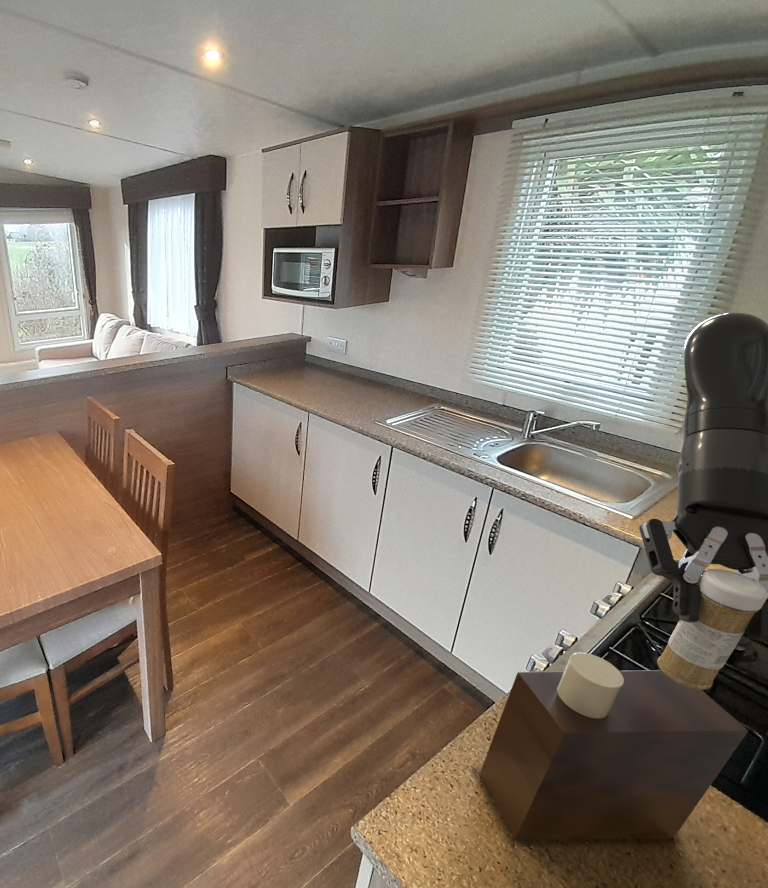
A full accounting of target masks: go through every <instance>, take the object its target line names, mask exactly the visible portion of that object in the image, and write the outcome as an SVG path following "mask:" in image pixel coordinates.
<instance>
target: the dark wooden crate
mask: <svg viewBox="0 0 768 888" xmlns="http://www.w3.org/2000/svg"><path fill="white" fill-rule="evenodd" d="M619 671H620V673H621V674H622V676H623V678H624V684H623V686H622V688H621V690H620V692H619V694H618V696H617V698H616V700H615V702H614V704H613V706H612V708H611V710H610V712H609V714H608V715H607V716H606V717H604V718H600V719H596V718H590V717H587V716H584V715H582V714H580V713H578V712H576V711H574V710H573V709H571V708H570V707H568V706H567V705H566V704H565V703H564V702H563V701H562V700H561V698H560V697H559V695H558V693H557V686H558V684H559V682H560V679H561V677H562V675H563V672H564V671H518V672H517V673H516V676H515V677H514V681H513V683H512V686H511V689H510V692H509V694H508V697H507V699H506V702H505V705H504V708H503V710H502V713H501V716H500V718H499V720H498V724H497V726H496V729H495V730H494V731H495V732H494V734H493V737H492V740H491V742H490V744H489V748H488V750H487V753H486V756H485V759H484V761H483V764H482V766H481V769H480V771H479V774H478V775H479V777H480V779H481V781H482V783H483V785H484V786H485V788H486V790H487V791H488V793H489V795H490V797H491V798H492V801H493V802H494V804H495V806H496V808H497V809H498V811H499V813H500V815H501V817H502V819H503V820H504V822H505V824H506V826H507V827H508V830H509V831H510V833H511V835H512V836H513V839H514V840H516V841H517V840H521V841H523V840H524V841H525V840H528V841H529V840H629V839H630V840H632V839H637V840H638V839H639V840H640V839H641V840H642V839H674V838H675V837H676V836H677V834H678V832H679V831H680V830H681V828H682V827H683V825H684V824H685V823H686V821H687V819H688V818H689V817H690V816H691V814H692V812H693V811H694V810H695V808H696V807H697V805H698V804H699V802H700V801H701V799H702V798H703V797H704V795H705V794H706V793H707V791H708V790H709V788H710V787H711V785H712V784H713V783H714V781H715V779H716V778H717V777H718V776H719V774H720V773H721V771H722V770H723V768H724V767H725V765H726V764H727V763H728V761H729V760H730V759H731V757H732V755H733V754H734V753H735V751H736V750H737V748H738V747H739V745H740V744H741V742H742V741H743V740H744V738H745V737H746V736H747V734H748V732H749V730H748V729H747V728H746V727H745V726H743V724H742V723H740V722H739V721H737V719H736V718H734V717H733V716H732V715H731V714H730V713H729V712H728V711H726V709H724V708H723V707H722V706H721V705H720V704H718V703H717V702H716V701H715V700H714V699H713V698H712V697H710V695H708V694H707V693H706V692H705V691H704V690H698V689H693V688H689V687H687V686H684V685H682V684H679V683H677V682H676V681H674V680H672V679H671V678H670V677H668V676H667V675H666V674H665V673H663V672H662V670H661V669H657V670H653V669H652V670H650V669H648V670H646V669H645V670H619Z"/></svg>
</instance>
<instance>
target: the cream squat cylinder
mask: <svg viewBox="0 0 768 888" xmlns="http://www.w3.org/2000/svg"><path fill="white" fill-rule="evenodd" d="M620 671H621V670H619V668H617V667H616V666H614V665H613V664H612V663H610V662H609V661H608V660H606V659H604V658H602V657H600V656H597V655H595V654H591V653H587V652H575V653H573V654H571V655H570V656H569V659H568V661H567V663H566V665H565V667H564V670H563V671H562V672H563V675H562V677H561V679H560V682H559V684H558V686H557V693H558V695H559V697H560V698H561V700H562V701H563V702H564V703H565V704H566V705H567V706H568V707H570V708H571V709H573V710H574V711H576V712H578V713H580V714H582V715H584V716H587V717H590V718H596V719H600V718H604V717H606V716H607V715H608V714H609V712H610V710H611V708H612V706H613V704H614V702H615V700H616V698H617V696H618V694H619V692H620V690H621V688H622V686H623V684H624V678H623V676H622V674H621V673H620Z"/></svg>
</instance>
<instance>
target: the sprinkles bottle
mask: <svg viewBox="0 0 768 888" xmlns="http://www.w3.org/2000/svg"><path fill="white" fill-rule="evenodd" d="M697 586H700V608H699V620H698V621H697V622H692V623H689V622H685V621H681V620H680V619H679V621H678V622H677V623H676V626H675V628H674V629H673V631H672V633H671V635H670V637H669V638H668V643H667V645H666V646H665V648H664V649H663V652H662V654H661V655H659V657H658V658H657V661H656V662H657V663H656V664H657V666H658V668H659V670H662V672H663V673H665V674H666V675H667V676H668V677H670V678H671V679H672V680H674V681H676V682H677V683H679V684H682V685H684V686H687V687H689V688H693V689H698V690H702V691H704V690H708V689H711V688H712V686H713V684H714V680H715V679H716V677H717V675H718V673H719V672H720V670H721V669H722V668H723V667H724V666H725V665H726V663H727V661H728V659H729V658H730V656H731V655H732V654H733V652H734V650H735V649H736V647H737V645H738V643H739V642H740V640H741V638H742V637H743V635H744V634H745V632H746V630H747V625H748V624H749V622H750V620H751V618H752V617H753V615H754V614H755V613H756V612H757V611H758V610H759V609H761V608H762V606H763V604H764V603H765V601H766V599H767V597H768V592H767V590H766V589H765V588H764V587H763V586H762V585H761V584H759V583H758V582H756V581H754V580H752V579H751V578H748V577H746V576H744V575H741V574H738V573H736V571H731V570H728V569H723V568H709V569H706V570H704V572H703V574H702V575H701V577H700V579H699V581H698V582H697Z"/></svg>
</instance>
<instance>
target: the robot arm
mask: <svg viewBox="0 0 768 888" xmlns="http://www.w3.org/2000/svg"><path fill="white" fill-rule="evenodd" d="M683 359H684V360H683V362H684V364H683V365H684V377H685V378H684V379H685V387H686V398H687V399H686V408H685V413H684V421H683V422H684V425H683V426H684V427H683V441H682V446H681V451H680V453H679V454H680V455H679V461H678V465H677V470H676V471H677V474H678V477H677V478H678V481H677V497H676V499H677V500H676V516H675V517H674V519H673V520H672V521H662V520H661V519H659V518H651V519H649V520H647V521H644V522H643V523H641V524H640V525H639V527H638V528H639V533H640V536H641V540H642V543H643V546H644V550H645V554H646V557H647V561H648V564H649V567H650V571H651V573H652V574H654V575H655V576H658V577H659V576H661V577H662V578H664V579H666V580H669V581H670V582H671V583H672V585H673V592H672V594H673V596H672V597H673V598H672V610H673V613H674V614H675V615H678V619H679V621H680V620H681V621H685V622H689V623H692V622H697V621H698V620H699V608H700V586H698V585H697V584H698V582H699V580H700V578H701V576H702V575H703V573H704V572H705V571H706V570H705V569H707V568H708V567H709V566H710V565H720V566H722V567H725V568H727V569H730V570H734V572H735V573H738V574H741V575H744V576H746V577H748V578H751V579H752V580H754V581H756V582H758V583H759V584H761V585H762V586H763V587H764V588H765V589H766V590H767V592H768V323H767V321H765V320H764V319H762V318H760V317H759V316H756V315H754V314H752V313H751V314H750V313H745V312H727V313H722V314H718V315H714V316H712V317H710V318H708V319H706V320H704V321H702V322H701V323H699V324H698V325H697V326H696V327H694V329H693V330H692V331H691V332H690V333H689V335H688V336H687V338H686V340H685V342H684V348H683ZM672 533H673V534H674V535H675V536H676V537H677V538H678V541H680V543H681V544H682V545H683V546H684V547H685V551H684V553H683V554H682V556H681V558H680V560H679V562H678V566H677V565H676V562H675V558H674V555H673V552H672V549H671V546H670V542H669V540H670V539H671V538H672V537H673V534H672ZM746 636H747V638H748V639H750V640H754V641H757V642H764V641H765V642H766V641H768V597H767V599H766V601H765V603H764V604H763V606H762V608H761V609H759V610H758V611H757V612H756V613H755V614H754V615H753V617H752V618H751V620H750V622H749V624H748V625H747V627H746Z"/></svg>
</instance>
